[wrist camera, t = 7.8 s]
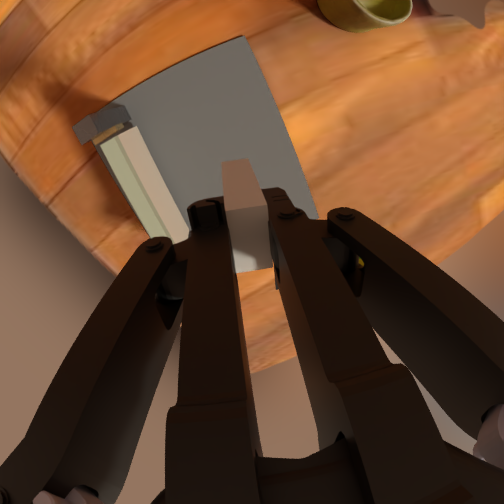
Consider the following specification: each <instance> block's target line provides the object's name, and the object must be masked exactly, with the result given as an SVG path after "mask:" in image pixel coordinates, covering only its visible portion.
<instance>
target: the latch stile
mask: <svg viewBox="0 0 504 504" xmlns="http://www.w3.org/2000/svg"><path fill="white" fill-rule="evenodd" d="M130 120H132V119H131V117H130V115H129V113H128V111H127V109H126V107H125V106H122V107H117V108H113V109H108V110H104V111H100V112H96V113H93V114H89V115H87V116H86V117H85V118H83V119H82V120H81V121H79V122H78V123H77V124H75V125H74V126H73V127H72V128H73V130H74V132H75V134H76V136H77V138H78V139H79V141H80V143H81V145H83V144H85V143H87V142H89V141H91V140H93V139H94V140H93V142H94V144H95V145H97V144H99V143H101V142H103V141H104V140H106V139H107V138H109V137H110V136H112V135H113V134H115V133H116V132H118V131H119V130H121V129H123V128H124V124H125V123H127V122H128V121H130Z"/></svg>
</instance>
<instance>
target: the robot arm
mask: <svg viewBox="0 0 504 504" xmlns="http://www.w3.org/2000/svg"><path fill="white" fill-rule="evenodd" d="M221 166H222V181H223V195H224V196H219V197H213V198H207V199H203V200H199V201H196V202H194V203H192V204H191V205H189V206H188V208H187V213H188V217H189V221H190V226H191V237H189V238H188V239H186V240H184V241H181V242H179V243H176V244H173V242H172V240H171V238H168V237H164V236H160V237H152V238H150V239H148V240H147V241H145V242H143V243H142V244H141V245H140V246H139V247H138V248H137V250H136V251H135V252H134V254H133V255H132V256H131V258H130V259H129V260H128V262H127V263H126V265H125V266H124V267H123V269H122V270H121V272H120V273H119V274H118V276H117V277H116V279H115V280H114V281H113V283H112V285H111V286H110V287H109V289H108V290H107V292H106V293H105V295H104V296H103V298H102V299H101V301H100V302H99V304H98V305H97V307H96V308H95V310H94V311H93V313H92V314H91V316H90V318H89V319H88V321H87V322H86V324H85V325H84V327H83V329H82V330H81V332H80V333H79V335H78V337H77V338H76V340H75V342H74V343H73V345H72V347H71V348H70V350H69V352H68V354H67V355H66V357H65V359H64V360H63V362H62V364H61V366H60V368H59V369H58V371H57V373H56V375H55V377H54V379H53V380H52V383H51V384H50V386H49V388H48V390H47V392H46V394H45V396H44V398H43V399H42V401H41V404H40V405H39V408H38V409H37V412H36V414H35V416H34V418H33V420H32V422H31V424H30V426H29V429H28V431H27V433H26V435H25V438H24V439H23V440H22V441H21V442H20V444H19V445H18V446H17V447H16V448H15V449H14V451H13V452H12V453H11V454H10V456H9V457H8V458H7V459H6V460H5V461H4V463H3V464H2V465H1V466H0V504H114V503H115V502H116V500H117V498H118V496H119V494H120V492H121V490H122V488H123V486H124V483H125V480H126V477H127V475H128V472H129V469H130V465H131V462H132V459H133V456H134V453H135V450H136V446H137V444H138V441H139V438H140V435H141V432H142V429H143V426H144V423H145V420H146V417H147V414H148V411H149V408H150V406H151V403H152V400H153V397H154V394H155V391H156V388H157V386H158V383H159V380H160V377H161V375H162V372H163V369H164V367H165V364H166V361H167V358H168V356H169V353H170V351H171V348H172V345H173V343H174V340H175V337H176V335H177V332H178V330H179V327H180V324H181V322H182V326H181V340H180V356H179V357H180V358H179V374H178V397H177V403H176V405H175V406H173V407H170V409H169V411H168V413H167V420H166V438H165V489H164V490H163V491H161V492H160V493H159V495H158V496H157V497H156V498H155V499H154V500H153V501H152V503H151V504H504V322H503V321H502V320H501V319H500V318H498V316H497V315H495V314H494V313H493V312H492V311H491V310H490V309H489V308H488V307H486V306H485V305H484V304H483V303H482V302H481V301H479V300H478V299H477V298H476V297H475V296H474V295H472V294H471V293H470V292H469V291H468V290H466V289H465V288H464V287H463V286H461V285H460V284H459V283H458V282H457V281H455V280H454V279H453V278H452V277H450V276H449V275H448V274H446V273H445V272H444V271H443V270H441V269H440V268H439V267H437V266H436V265H435V264H433V263H432V262H431V261H430V260H428V259H427V258H426V257H424V256H423V255H421V254H420V253H419V252H417V251H416V250H415V249H413V248H412V247H410V246H409V245H408V244H406V243H405V242H403V241H402V240H401V239H399V238H398V237H396V236H395V235H393V234H392V233H391V232H389V231H388V230H386V229H385V228H383V227H382V226H380V225H379V224H377V223H376V222H374V221H373V220H371V219H370V218H368V217H367V216H365V215H364V214H362V213H361V212H359V211H357V210H354V209H350V208H348V207H345V208H344V207H340V208H336V209H333V210H330V211H329V212H328V213H327V220H316V219H309V218H308V216H307V214H306V213H305V212H304V211H303V210H302V209H300V208H297V207H295V206H294V205H293V203H292V201H291V200H290V198H289V196H288V195H287V193H286V191H285V190H283V189H281V188H279V187H274V188H267V189H261V188H260V186H259V183H258V181H257V178H256V176H255V174H254V171H253V169H252V166H251V164H250V162H249V159H248V158H246V159H239V160H232V161H226V162H221ZM359 257H360V258H361V259H362V261H363V263H364V266H362V265H361V264H360V263H359ZM272 259H273V261H272ZM273 263H274V272H275V285H276V290H278V289H279V291H280V295H281V298H282V302H283V305H284V309H285V312H286V316H287V320H288V323H289V327H290V330H291V334H292V337H293V341H294V345H295V348H296V352H297V355H298V359H299V363H300V366H301V370H302V374H303V377H304V381H305V385H306V388H307V392H308V395H309V399H310V403H311V407H312V410H313V414H314V418H315V422H316V426H317V431H318V441H319V449H320V451H318V452H316V453H314V454H312V455H310V456H308V457H306V458H301V459H286V458H269V457H263V453H262V448H261V443H260V437H259V432H258V424H257V418H256V411H255V404H254V397H253V391H252V384H251V377H250V370H249V363H248V355H247V348H246V341H245V334H244V326H243V319H242V311H241V304H240V296H239V288H238V280H237V275H236V273H240V272H247V271H253V270H259V269H266V268H272V267H273ZM373 329H374V330H375V331H376V332H377V333H378V334H379V336H380V337H381V338H382V339H383V340H384V341H385V342H386V343H387V345H388V346H389V347H390V348H391V349H392V350H393V351H394V353H395V354H396V355H397V356H398V357H399V358H400V359H401V361H402V362H403V363H404V364H405V365H406V366H407V367H408V368H407V367H406V366H404V365H403V364H401V363H400V364H392V363H391V362H390V361H389V359H388V358H387V356H386V354H385V352H384V350H383V348H382V346H381V344H380V342H379V340H378V338H377V336H376V334H375V332H374V330H373ZM409 370H410V371H411V372H412V373H413V374H414V376H415V377H416V378H417V379H418V380H419V381H420V382H421V384H422V385H423V386H424V387H425V388H426V390H427V391H428V392H429V393H430V394H431V395H432V397H433V398H434V399H435V400H436V402H437V403H438V404H439V405H440V406H441V408H442V409H443V410H444V411H445V412H446V414H447V415H448V416H449V417H450V418H451V419H452V420H453V421H454V422H455V423H456V425H457V426H459V427H460V428H461V429H462V430H463V431H464V432H465V433H467V434H468V435H469V436H471V437H472V438H474V439H476V440H477V443H476V444H475V445H474V448H473V455H474V456H473V455H471V454H469V453H467V452H465V451H463V450H461V449H459V448H457V447H455V446H453V445H451V444H449V443H447V442H446V441H444V440H443V439H442V437H441V435H440V432H439V430H438V428H437V425H436V423H435V421H434V419H433V417H432V415H431V412H430V410H429V408H428V406H427V404H426V402H425V400H424V398H423V396H422V393H421V391H420V390H419V387H418V385H417V383H416V381H415V379H414V377H413V375H412V374H411V372H410V371H409ZM484 459H485V460H486V461H487V462H485V461H484Z"/></svg>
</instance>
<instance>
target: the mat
mask: <svg viewBox="0 0 504 504" xmlns="http://www.w3.org/2000/svg"><path fill="white" fill-rule="evenodd" d="M122 106H125V107H126V109H127V111H128V113H129V115H130V117H131V119H132V120H130V121H128V122H127V123H125V124H124V128H123V129H121V130H119V131H118V132H116V133H115V134H113V135H112V136H110V137H109V138H107V139H106V140H104V141H103V142H101V143H99V144H97V145H95V144H94V142H93V140H94V139H93V140H91V141H92V143H93V145H94V146H95V148H96V150H97V152H98V153H99V155H100V157H101V159H102V160H103V162H104V164H105V166H106V167H107V169H108V171H109V172H110V174H111V176H112V177H113V179H114V181H115V182H116V184H117V186H118V187H119V189H120V191H121V192H122V194H123V196H124V197H125V199H126V200H127V202H128V204H129V205H130V207H131V208H132V210H133V211H134V213H135V215H136V216H137V218H138V219H139V221H140V222H141V220H140V218H139V217H138V215H137V213H136V212H135V210H134V208H133V206H132V205H131V203H130V201H129V199H128V197H127V196H126V194H125V192H124V190H123V188H122V186H121V185H120V183H119V181H118V179H117V177H116V175H115V173H114V172H113V170H112V168H111V166H110V164H109V162H108V160H107V158H106V156H105V154H104V152H103V150H102V148H101V146H100V145H102V144H103V143H105V142H107V141H108V140H110V139H112V138H113V137H115V136H117V135H119V134H121V133H123V132H125V131H127V130H129V129H131V128H133V127H135V126H137V127H138V130H139V132H140V134H141V136H142V138H143V140H144V142H145V144H146V146H147V148H148V150H149V152H150V154H151V156H152V158H153V160H154V162H155V164H156V166H157V168H158V170H159V172H160V174H161V176H162V178H163V180H164V182H165V184H166V186H167V188H168V190H169V192H170V194H171V196H172V198H173V200H174V202H175V204H176V206H177V207H178V209H179V211H180V213H181V215H182V217H183V219H184V221H185V223H186V224H187V226H188V228H189V231H191V226H190V221H189V217H188V213H187V208H188V206H189V205H191V204H192V203H194V202H196V201H199V200H203V199H207V198H213V197H219V196H224V195H223V181H222V166H221V162H226V161H232V160H239V159H246V158H248V159H249V162H250V164H251V166H252V169H253V171H254V174H255V176H256V178H257V181H258V183H259V186H260V188H261V189H267V188H274V187H279V188H281V189H283V190H285V191H286V193H287V195H288V196H289V198H290V200H291V201H292V203H293V205H294V206H295V207H297V208H300V209H302V210H303V211H304V212H305V213H306V214H307V216H308V218H309V219H318V218H319V216H318V213H317V210H316V207H315V204H314V201H313V199H312V196H311V193H310V190H309V187H308V184H307V182H306V179H305V176H304V173H303V171H302V168H301V165H300V163H299V160H298V157H297V155H296V152H295V150H294V147H293V144H292V142H291V139H290V137H289V134H288V132H287V129H286V127H285V124H284V122H283V119H282V117H281V115H280V112H279V110H278V108H277V105H276V103H275V101H274V98H273V96H272V94H271V91H270V89H269V87H268V85H267V82H266V80H265V78H264V76H263V73H262V71H261V69H260V67H259V65H258V63H257V60H256V58H255V56H254V54H253V52H252V50H251V48H250V46H249V44H248V42H247V40H246V38H245V36H242V37H239V38H236V39H234V40H231V41H228V42H226V43H223V44H221V45H218V46H216V47H213V48H211V49H209V50H206V51H204V52H202V53H200V54H197V55H195V56H193V57H191V58H189V59H187V60H184V61H182V62H180V63H178V64H176V65H174V66H172V67H170V68H168V69H167V70H165V71H163V72H161V73H159V74H157V75H155V76H153V77H152V78H150V79H148V80H146V81H145V82H143V83H141V84H139V85H138V86H136V87H134V88H133V89H131V90H129V91H128V92H126V93H125V94H123V95H121V96H120V97H118V98H117V99H115V100H114V101H112V102H111V103H109V104H108V105H106V106H105V107H103V108H102V109H100V110H99V111H98V112H100V111H104V110H108V109H113V108H117V107H122ZM141 224H142V222H141ZM142 225H143V224H142ZM143 227H144V225H143ZM144 229H145V227H144ZM145 230H146V229H145ZM146 232H147V230H146ZM147 233H148V232H147ZM148 235H149V234H148ZM149 236H150V235H149ZM150 238H151V237H150Z"/></svg>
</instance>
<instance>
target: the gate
mask: <svg viewBox="0 0 504 504" xmlns="http://www.w3.org/2000/svg"><path fill="white" fill-rule="evenodd" d="M100 146H101V148H102V150H103V152H104V154H105V156H106V158H107V160H108V162H109V164H110V166H111V168H112V170H113V172H114V173H115V175H116V177H117V179H118V181H119V183H120V185H121V186H122V188H123V190H124V192H125V194H126V196H127V197H128V199H129V201H130V203H131V205H132V206H133V208H134V210H135V212H136V213H137V215H138V217H139V218H140V220H141V222H142V224H143V225H144V227H145V229H146V230H147V232H148V234H149V235H150V237H151V238H152V237H160V236H164V237H168V238H171V240H172V242H173V244H176V243H179V242H181V241H184V240H186V239H188V235H189V228H188V226H187V224H186V223H185V221H184V219H183V217H182V215H181V213H180V211H179V209H178V207H177V206H176V204H175V202H174V200H173V198H172V196H171V194H170V192H169V190H168V188H167V186H166V184H165V182H164V180H163V178H162V176H161V174H160V172H159V170H158V168H157V166H156V164H155V162H154V160H153V158H152V156H151V154H150V152H149V150H148V148H147V146H146V144H145V142H144V140H143V138H142V136H141V134H140V132H139V130H138V127H137V126H135V127H133V128H131V129H129V130H127V131H125V132H123V133H121V134H119V135H117V136H115V137H113V138H112V139H110V140H108V141H107V142H105V143H103V144H102V145H100Z"/></svg>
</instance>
